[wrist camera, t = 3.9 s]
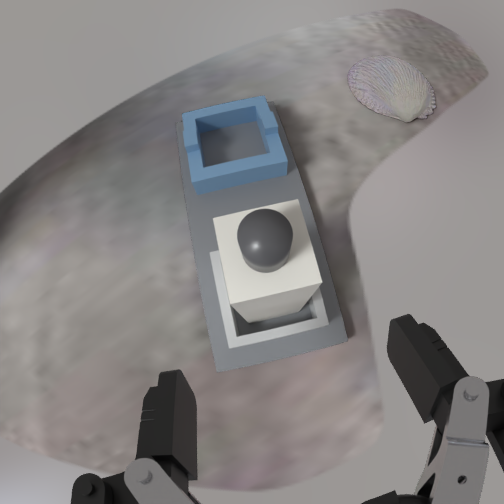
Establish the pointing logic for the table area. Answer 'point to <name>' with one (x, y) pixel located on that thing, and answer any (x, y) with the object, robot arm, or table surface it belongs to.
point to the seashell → (392, 88)
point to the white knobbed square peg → (267, 260)
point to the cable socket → (241, 199)
